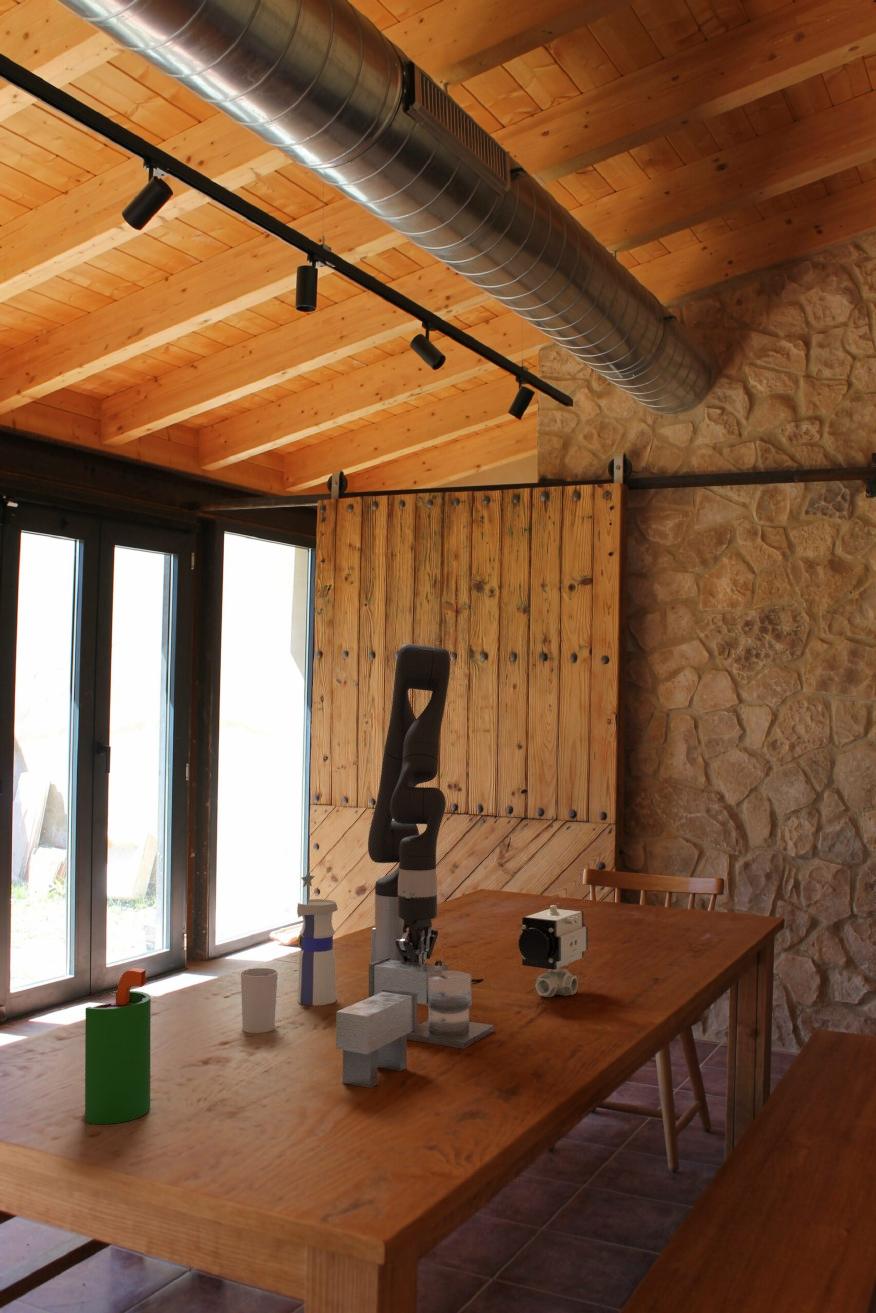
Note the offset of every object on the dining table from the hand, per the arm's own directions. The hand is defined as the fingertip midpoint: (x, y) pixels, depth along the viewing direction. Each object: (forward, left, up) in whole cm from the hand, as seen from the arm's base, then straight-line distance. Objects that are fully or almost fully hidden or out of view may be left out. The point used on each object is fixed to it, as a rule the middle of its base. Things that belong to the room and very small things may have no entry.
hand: (417, 984), depth 207 cm
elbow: (+6, -9, 0) cm, 11 cm away
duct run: (+11, -34, -6) cm, 36 cm away
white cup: (-21, -22, -6) cm, 31 cm away
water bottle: (-23, -1, -6) cm, 23 cm away
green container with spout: (-13, -65, -6) cm, 66 cm away
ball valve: (+17, +27, -6) cm, 33 cm away
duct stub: (+11, -9, -6) cm, 16 cm away
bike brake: (-6, +20, -6) cm, 22 cm away
